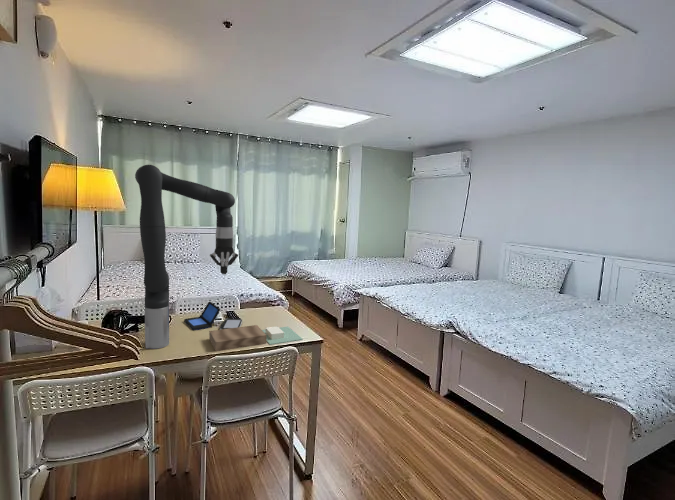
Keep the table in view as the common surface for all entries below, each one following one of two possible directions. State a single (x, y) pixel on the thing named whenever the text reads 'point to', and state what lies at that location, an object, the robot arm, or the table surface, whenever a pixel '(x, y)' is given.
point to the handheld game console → (204, 318)
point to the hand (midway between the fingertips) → (223, 274)
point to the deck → (237, 337)
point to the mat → (288, 336)
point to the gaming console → (231, 323)
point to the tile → (274, 332)
